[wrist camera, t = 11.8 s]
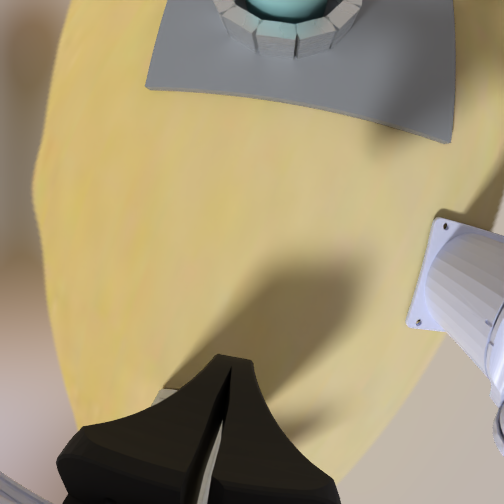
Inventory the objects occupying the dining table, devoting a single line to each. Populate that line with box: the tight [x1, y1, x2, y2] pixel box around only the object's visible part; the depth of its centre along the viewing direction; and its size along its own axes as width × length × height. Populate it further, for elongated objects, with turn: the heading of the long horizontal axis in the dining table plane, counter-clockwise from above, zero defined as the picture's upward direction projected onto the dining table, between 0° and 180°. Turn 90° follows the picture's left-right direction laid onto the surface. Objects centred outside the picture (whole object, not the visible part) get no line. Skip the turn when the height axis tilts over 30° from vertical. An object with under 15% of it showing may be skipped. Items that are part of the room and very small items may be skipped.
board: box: [145, 0, 456, 144], centre depth 16 cm, size 20×14×1 cm
